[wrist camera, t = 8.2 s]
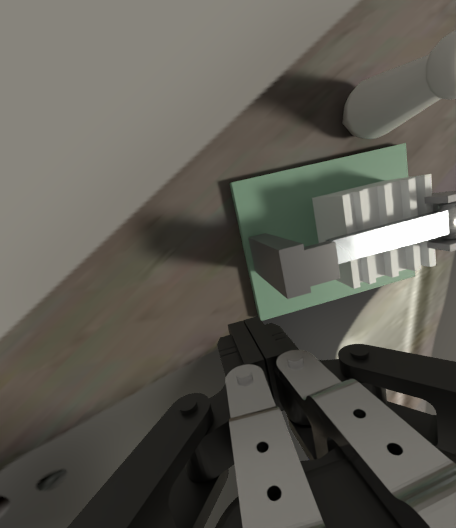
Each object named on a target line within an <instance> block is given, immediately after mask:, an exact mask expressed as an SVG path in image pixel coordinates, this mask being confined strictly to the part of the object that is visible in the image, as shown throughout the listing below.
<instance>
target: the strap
mask: <svg viewBox="0 0 456 528" xmlns="http://www.w3.org/2000/svg"><path fill="white" fill-rule="evenodd" d="M439 236H440V239H454V238H456V202H451V203H442V204H438V210H437V211H433V212H429V213H426V214H422V215H418V216H414V217H410V218H407V219H403V220H399V221H395V222H391V223H387V224H384V225H380V226H376V227H372V228H368V229H364V230H361V231H357V232H353V233H349V234H345V235H341V236H338V237H334V238H330V239H326V241H333V242H336V249H337V256H338V264H341V263H345V262H348V261H352V260H355V259H359V258H363V257H366V256H370V255H374V254H377V253H381V252H385V251H388V250H392V249H396V248H399V247H403V246H407V245H410V244H414V243H418V242H421V241H425V240H429V239H432V238H436V237H439Z"/></svg>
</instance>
